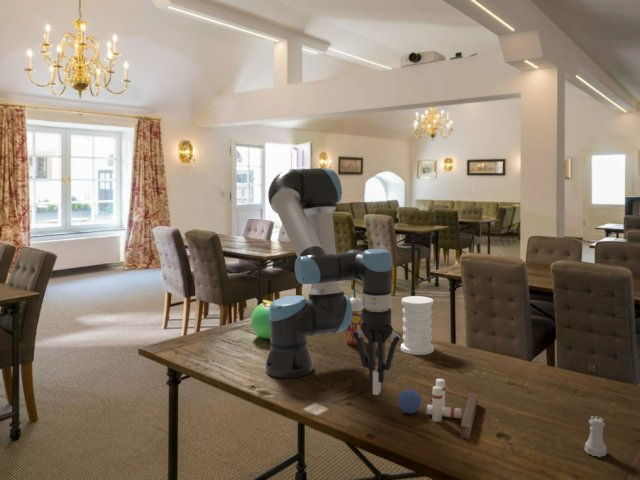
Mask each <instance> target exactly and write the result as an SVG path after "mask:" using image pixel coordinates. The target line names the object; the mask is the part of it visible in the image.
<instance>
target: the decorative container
mask: <svg viewBox="0 0 640 480" xmlns="http://www.w3.org/2000/svg"><path fill="white" fill-rule="evenodd" d="M401 305H403V308H402V314H403V317H402V322H403V326H402V331H403V335H402V340H403V342H402V343H401V344H400V351H402V353H405V354H408V355H415V356H423V355H425V356H426V355H429V354H432V353H434V350H435V346H434V345H433V343H432V340H433V337H432V330H433V328H432V323H433V319H432V314H433V309H432V306H433V305H434V299H433V298H431V297H428V296H423V295H422V296H421V295H413V296H412V295H411V296H404V297H402V298H401Z"/></svg>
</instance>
